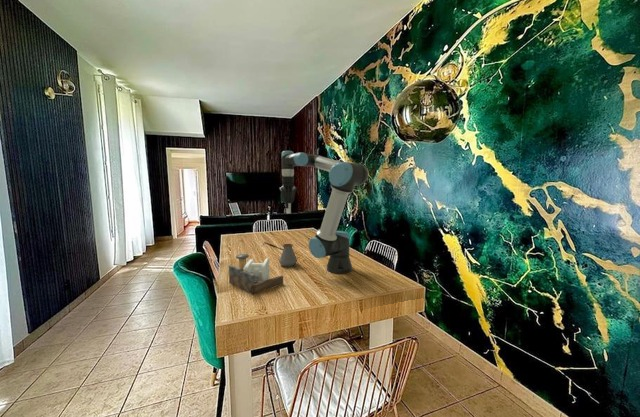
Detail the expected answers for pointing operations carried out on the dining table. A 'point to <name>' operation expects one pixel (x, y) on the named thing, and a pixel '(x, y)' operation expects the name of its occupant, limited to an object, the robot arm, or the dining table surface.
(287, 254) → the coffee pot
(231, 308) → the dining table surface
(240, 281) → the notched bay
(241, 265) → the mushroom drawer knob
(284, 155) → the robot arm
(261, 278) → the cable organizer
